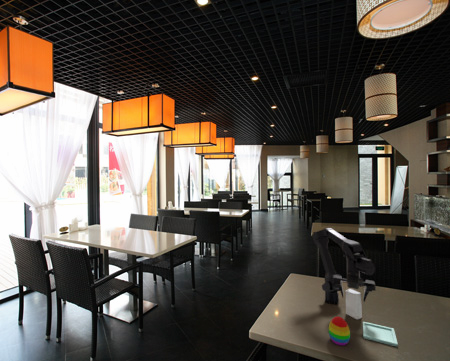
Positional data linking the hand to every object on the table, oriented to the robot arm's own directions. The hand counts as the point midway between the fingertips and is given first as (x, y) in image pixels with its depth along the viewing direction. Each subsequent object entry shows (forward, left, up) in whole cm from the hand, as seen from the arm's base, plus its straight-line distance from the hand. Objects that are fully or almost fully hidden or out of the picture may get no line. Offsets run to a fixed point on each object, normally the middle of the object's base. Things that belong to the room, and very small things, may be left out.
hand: (353, 299), depth 123 cm
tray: (+10, -12, -8) cm, 18 cm away
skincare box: (0, 0, -8) cm, 8 cm away
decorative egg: (-5, -25, -8) cm, 27 cm away
